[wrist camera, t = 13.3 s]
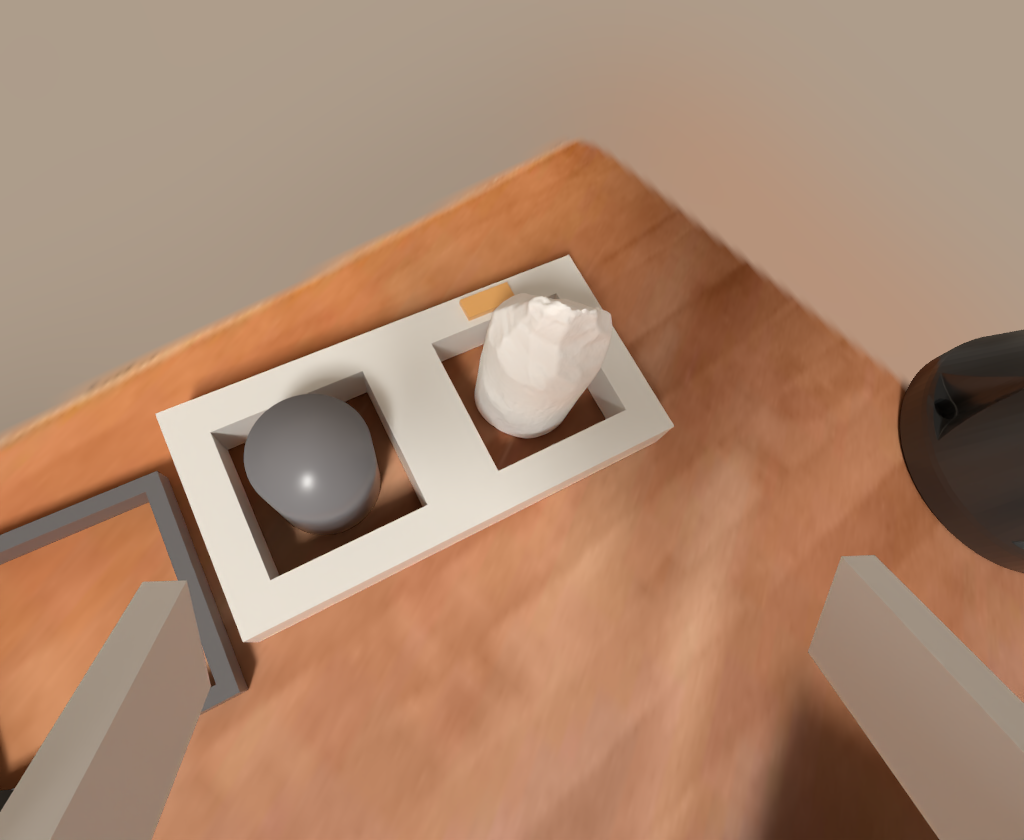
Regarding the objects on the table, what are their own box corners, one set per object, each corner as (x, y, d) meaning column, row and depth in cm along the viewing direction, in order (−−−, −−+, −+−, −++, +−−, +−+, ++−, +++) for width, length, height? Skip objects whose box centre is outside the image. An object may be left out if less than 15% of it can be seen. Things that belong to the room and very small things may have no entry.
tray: (248, 689, 30) (239, 692, 28) (-20, 829, 27) (-44, 840, 25) (168, 478, 32) (156, 470, 31) (-83, 582, 29) (-109, 579, 28)
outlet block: (655, 442, 37) (696, 406, 31) (259, 642, 30) (222, 642, 25) (558, 281, 40) (580, 223, 34) (177, 432, 33) (128, 390, 28)
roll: (624, 232, 27) (649, 348, 25) (564, 351, 38) (579, 437, 36) (488, 236, 26) (505, 357, 24) (468, 357, 37) (478, 446, 35)
